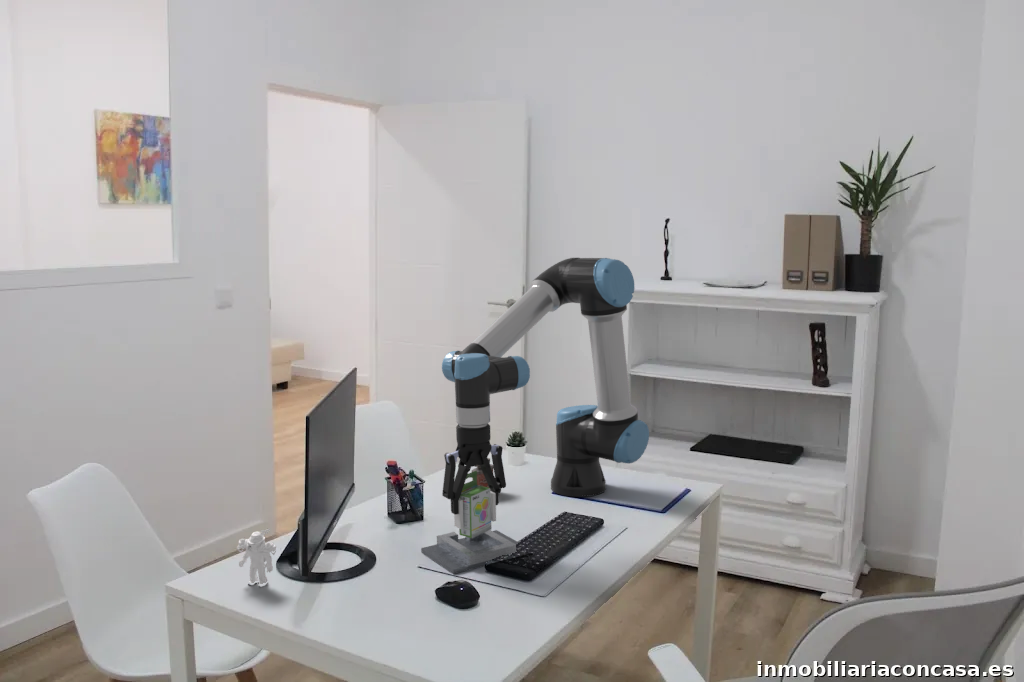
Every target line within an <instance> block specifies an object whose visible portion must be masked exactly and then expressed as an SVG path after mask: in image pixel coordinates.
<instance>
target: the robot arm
mask: <svg viewBox="0 0 1024 682" xmlns="http://www.w3.org/2000/svg"><path fill="white" fill-rule="evenodd" d="M634 293H635V279H634V276H633V273H632V271H631V269H630V267H629V266H628V265H627V264H625V263H624V262H623V261H622V260H620V259H615V258H614V259H613V258H609V257H570V258H565V259H563V260H560V261H559V262H557V263H554V264H553V265H552V266H550V267H549V268H547V269H545V270H543V272H541V273H540V274H539V275H538V276H536V277H535V278H534V279H533V280H532V281H531V282H530V283H529V285H528V290H527V291H526V292H525V293H523V295H522V296H521V297H519V298H518V299H517V300H516V301H515V302H514V303H513V304H512V305H511V306H510V307H508V308H507V309H506V310H505V311H504V312H503V313H502V314H501V315H499V317H498V318H497V319H495V321H494V322H492V323H491V324H490V325H489V326H488V327H487V328H486V329H484V331H482V332H481V333H480V334H479V335H478V336H477V337H476V338H475V339H474V340H473V341H472V342H470V343H469V344H468V345H467V346H466V347H465V348H464V349H463V350H462V351H461V350H453V351H450V352H448V353H446V355H445V356H444V358H442V363H441V371H442V374H443V376H444V378H445V379H446V380H447V381H450V382H452V383H454V391H455V393H454V394H455V396H454V397H455V422H456V424H457V425H456V427H455V428H456V429H455V430H456V443H457V444H456V445H457V446H456V448H455V451H453V452H450V453H449V452H445V453H444V454H443V456H444V461H445V469H444V476H443V485H442V497H443V498H446V499H448V500H450V511H451V514H453V517H454V518H453V519H454V527H456V528H457V529H463V500H462V499H460V495H461V492H462V489H463V486H464V484H465V483H466V480H467V479H466V477H467V474H469V473H470V471H471V468H473V467H474V466H475V465H480V467H481V469H482V472H483V474H484V476H485V479H486V481H487V483H488V486H489V488H490V489H491V491H490V496H491V522H497V506H498V505H499V494H500V493H501V492H502V489H505V488H506V486H507V482H506V475H505V469H504V463H503V458H502V457H503V456H502V455H503V446H501V445H499V444H496V443H493V444H491V442H490V441H491V425H490V424H489V423H490V422H491V406H490V404H491V403H490V402H491V400H490V398H491V397H490V396H491V395H494V394H498V393H502V392H503V393H504V392H508V391H516V390H517V389H520V388H523V387H525V386H526V385H527V384H528V383H529V381H530V378H531V371H530V370H531V369H530V365H529V364H528V362H527V360H526V359H525V358H523V357H522V356H519V355H513V356H512V355H508V356H507V357H503V356H505V354H506V353H507V352H509V350H510V349H512V347H514V345H516V344H517V343H518V342H519V341H520V340H521V339H522V338H523V337H524V336H525V335H526V334H527V333H528V332H529V331H530V330H531V329H532V328H534V326H535V325H537V323H538V322H540V320H542V319H543V318H544V317H545V316H546V315H547V314H548V313H551V312H552V313H553V312H556V311H557V310H558V309H559V308H560V307H561V306H563V305H566V304H572V303H574V304H579V306H580V314H581V316H583V317H584V318H585V319H586V320H587V322H588V323H587V324H588V330H589V331H588V332H589V339H590V340H589V341H590V350H591V359H592V366H593V377H594V384H595V392H596V403H597V405H596V404H582V405H571V406H566V407H564V408H561V409H560V410H558V412H557V413H556V423H555V426H556V427H555V429H556V431H555V434H556V464H555V467H554V469H553V470H554V471H553V474H552V477H551V479H550V489H551V491H552V492H553V493H554V494H557V495H561V496H566V497H581V498H583V497H590V496H591V497H594V496H597V495H600V494H602V493H604V492H605V491H606V485H607V482H606V478H605V475H604V471H603V468H602V466H601V463H600V459H604V460H609V461H613V462H615V463H617V464H619V463H622V464H633V463H635V462H637V461H639V460H640V459H641V458H642V456H643V455H644V453H645V452H646V450H647V446H648V444H649V440H650V430H649V426H648V425H647V423H646V422H645V421H644V420H641V419H639V415H638V408H637V407H636V406H635V405H633V404H632V403H631V402H632V401H631V394H630V385H629V383H630V382H629V376H628V375H629V373H628V364H627V363H628V362H627V356H626V345H625V335H624V325H623V318H622V317H623V315H624V313H625V312H626V311H627V310H628V308H627V307H628V304H630V302H631V301H632V299H633V297H634V295H633V294H634ZM490 454H491V461H492V465H493V468H494V469H493V472H492V470H491V467H490V464H491V462H490V463H489V460H488V458H489V455H490ZM457 458H458V459H459V461H458V459H457ZM457 462H458V464H456V463H457ZM457 467H458V468H457ZM456 468H457V471H456Z"/></svg>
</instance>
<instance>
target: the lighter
mask: <svg viewBox="0 0 1024 682" xmlns="http://www.w3.org/2000/svg"><path fill="white" fill-rule="evenodd" d="M487 458H488V460H489V463H490V467H491V470H492V472H493V473H494V468H493V463H492V464H491V457H487ZM473 467H475V468H472V470H471V472H474V471H476V470H477V485H478V486H483V487H487V488H489V486H488V483H487V481H486V479H485V476H484V474H483V472H482V469H481V467H480V465H475V466H473ZM472 480H473V478H472ZM472 480H471V481H472ZM490 491H491V489H490Z"/></svg>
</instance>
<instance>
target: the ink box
mask: <svg viewBox="0 0 1024 682" xmlns="http://www.w3.org/2000/svg"><path fill="white" fill-rule="evenodd" d="M471 478H473V480H471V481H468V482H465V483H464V486H463V489H462V492H461V495H460V499H462V500H463V529H459V528H458V529H459V531H458V532H459V534H458V535H459V536H462V537H465V536H466V537H468V538H474V537H476V536H478V535H480V534H482V533H484V532H487V531H489V530H491V531H492V521H491V496H490V488H487V487H483V486H478V485H477V470H476V471H474V472H472V471H471V472H468V474H467V477H466V480H467V479H471Z"/></svg>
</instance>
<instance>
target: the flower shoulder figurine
mask: <svg viewBox="0 0 1024 682" xmlns="http://www.w3.org/2000/svg"><path fill="white" fill-rule="evenodd" d="M270 530H271V528H267V529H264V530H262V529H261V530H260V531H253V532H252V533H251V535H250V536H249V538H245V537H243V538H239V540H238V545H237V546H236V550H237V551H238V552H239V553H243V551H244V549H245V551H244V552H245V553H244V554H243V556H242V557H241V559H240V560H239V562H238V566H239V567H240V568H242V567H244V564H245V563H247V561H248V559H250V566H249V581H248V582H250V583H254V582H255V581H259V584H263V583H266V582H267V581H268V582H269V580H268V577H267V576H266V573H271V572H272V571H273V569H274V567H273V563H272V562H273V558H272V555H273V556H274V555H275V554H276V552H277V545H275V543H274V542H270V541H267V542H266V541H265V540H266V537H265V535H266V534H269V533H270ZM241 549H242V550H241ZM271 554H272V555H271ZM265 562H266V563H265ZM257 573H258V574H257Z"/></svg>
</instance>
